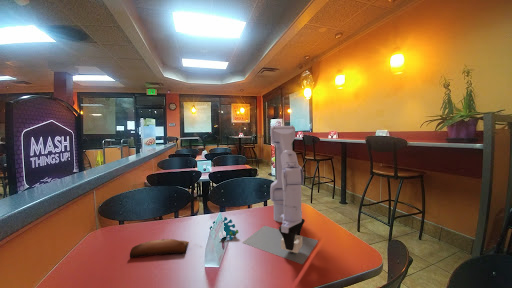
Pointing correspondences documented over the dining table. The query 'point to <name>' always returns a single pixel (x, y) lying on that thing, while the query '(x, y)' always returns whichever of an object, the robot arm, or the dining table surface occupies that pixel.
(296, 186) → the robot arm
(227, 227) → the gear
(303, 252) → the board
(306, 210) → the dining table surface
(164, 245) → the sunglasses case
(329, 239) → the dining table surface
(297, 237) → the ring
